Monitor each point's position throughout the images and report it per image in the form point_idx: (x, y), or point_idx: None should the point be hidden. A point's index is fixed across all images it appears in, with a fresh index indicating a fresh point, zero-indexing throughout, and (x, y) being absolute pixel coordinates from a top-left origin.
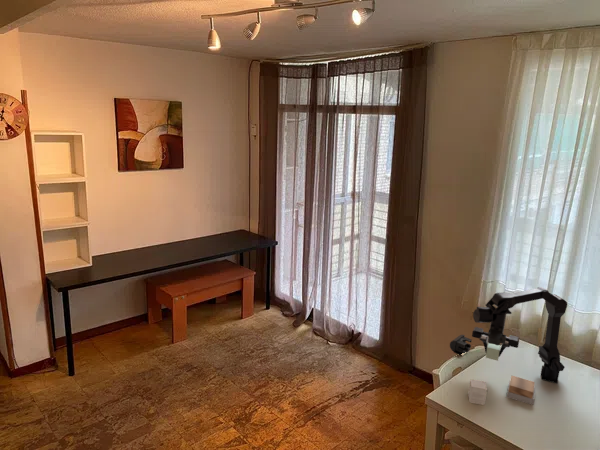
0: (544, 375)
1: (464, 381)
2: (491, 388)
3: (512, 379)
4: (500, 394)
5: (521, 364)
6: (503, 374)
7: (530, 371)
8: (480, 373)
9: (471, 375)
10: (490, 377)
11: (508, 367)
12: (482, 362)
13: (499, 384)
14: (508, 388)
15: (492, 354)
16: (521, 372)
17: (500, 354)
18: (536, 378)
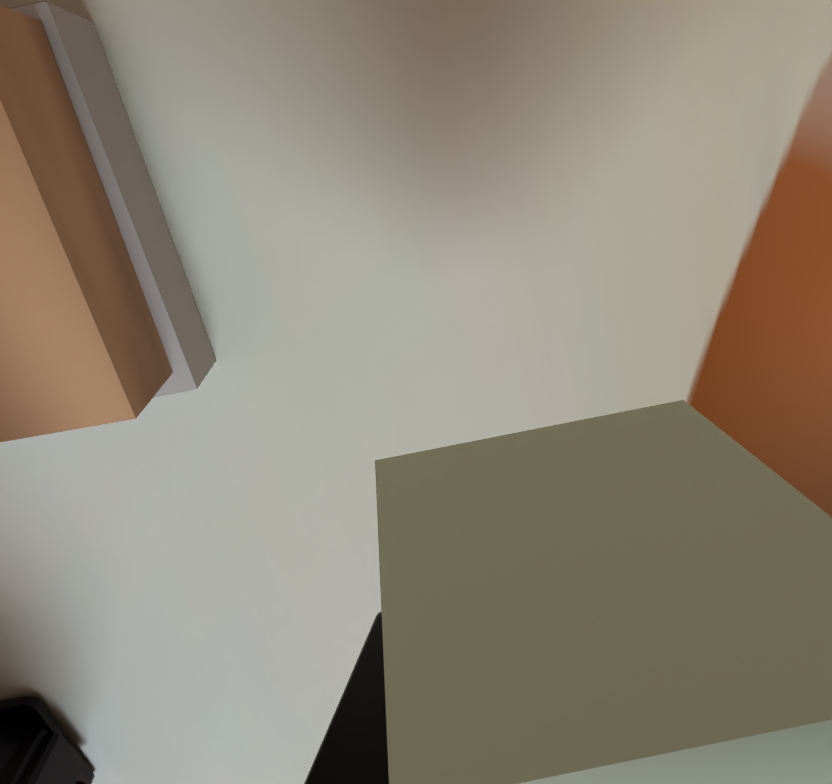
0: (13, 750)
1: (717, 4)
2: (349, 109)
3: (51, 293)
4: (189, 26)
5: (285, 777)
6: (348, 536)
7: (178, 737)
8: (561, 383)
9: (649, 256)
10: (442, 380)
11: None
12: None
13: (305, 300)
14: (94, 140)
15: (580, 519)
16: (229, 677)
17: (360, 673)
18: (80, 677)
